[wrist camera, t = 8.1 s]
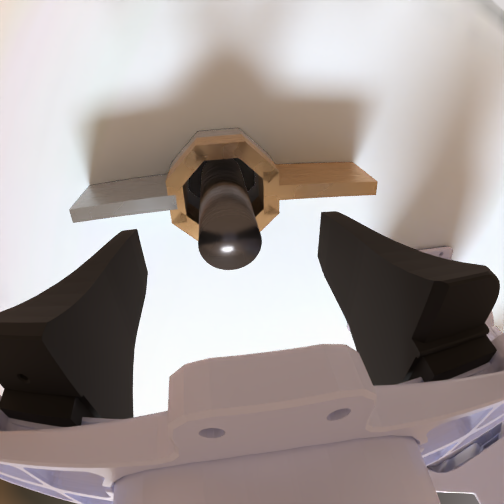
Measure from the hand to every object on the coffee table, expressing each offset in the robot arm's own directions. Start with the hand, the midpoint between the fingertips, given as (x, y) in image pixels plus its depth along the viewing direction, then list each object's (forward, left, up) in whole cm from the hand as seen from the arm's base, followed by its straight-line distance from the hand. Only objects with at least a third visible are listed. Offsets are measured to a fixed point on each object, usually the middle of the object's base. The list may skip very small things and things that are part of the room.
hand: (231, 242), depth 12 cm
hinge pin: (0, 0, -8) cm, 8 cm away
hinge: (0, 0, -8) cm, 8 cm away
